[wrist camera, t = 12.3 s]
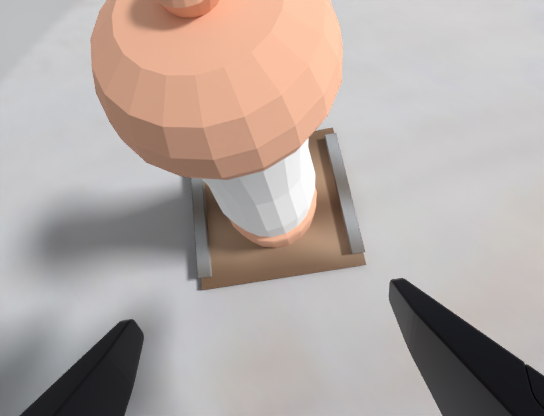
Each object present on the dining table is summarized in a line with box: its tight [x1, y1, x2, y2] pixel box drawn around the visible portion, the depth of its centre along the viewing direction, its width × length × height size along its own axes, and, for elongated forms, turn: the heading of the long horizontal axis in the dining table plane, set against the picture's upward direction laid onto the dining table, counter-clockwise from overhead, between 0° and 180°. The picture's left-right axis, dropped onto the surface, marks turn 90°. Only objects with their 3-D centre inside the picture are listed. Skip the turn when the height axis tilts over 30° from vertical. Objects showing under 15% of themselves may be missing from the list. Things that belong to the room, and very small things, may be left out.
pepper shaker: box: [91, 0, 343, 248], centre depth 14 cm, size 7×7×19 cm
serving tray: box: [191, 128, 366, 290], centre depth 23 cm, size 13×14×1 cm
